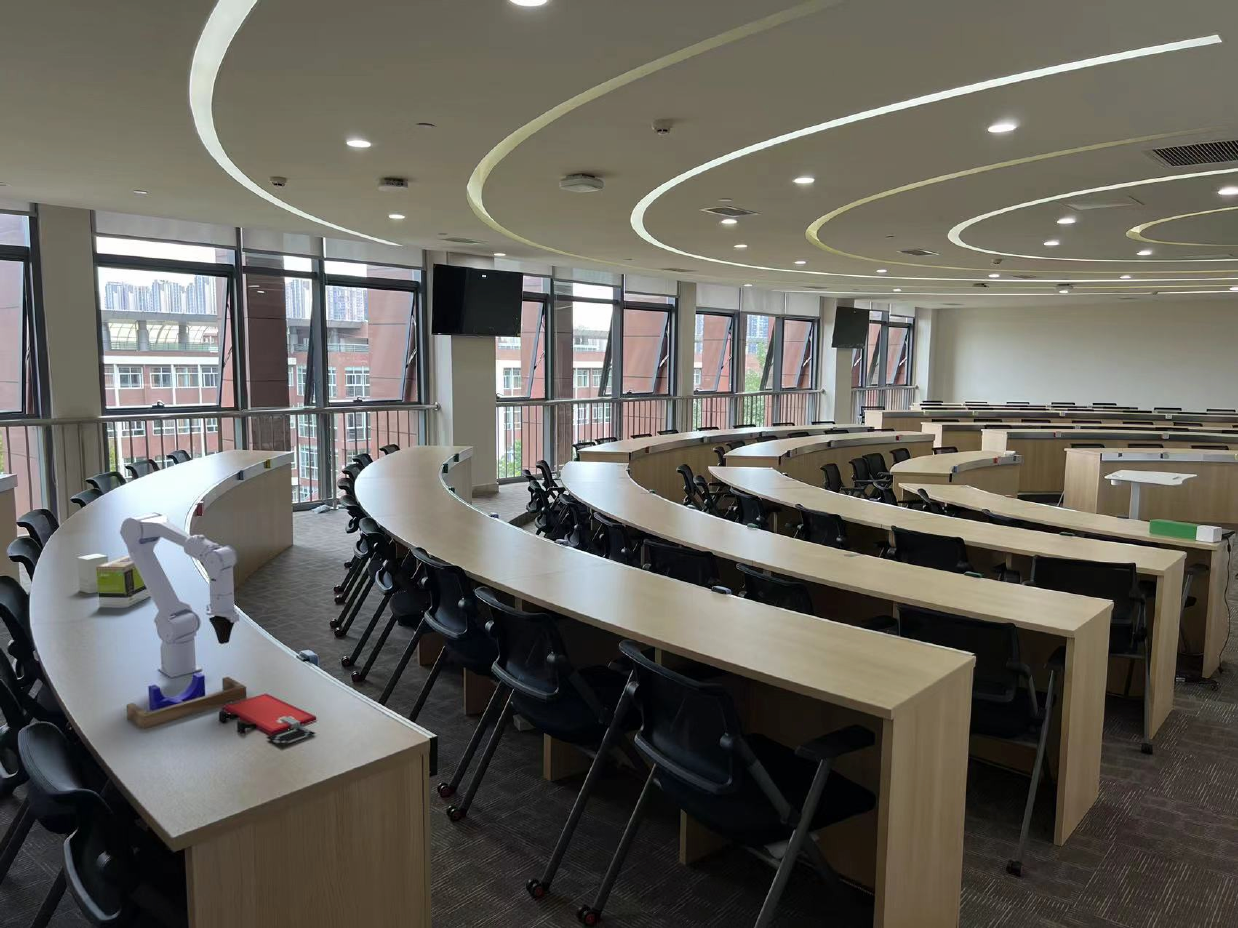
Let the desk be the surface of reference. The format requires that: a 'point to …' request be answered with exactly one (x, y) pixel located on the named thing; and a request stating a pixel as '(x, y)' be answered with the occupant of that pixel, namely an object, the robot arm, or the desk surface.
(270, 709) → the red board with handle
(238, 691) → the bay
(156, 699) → the blue curved bracket
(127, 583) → the tea box
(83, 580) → the supplement box
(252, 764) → the desk surface
